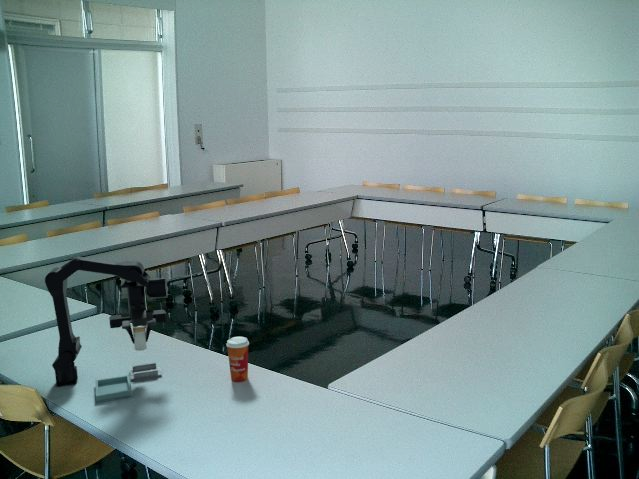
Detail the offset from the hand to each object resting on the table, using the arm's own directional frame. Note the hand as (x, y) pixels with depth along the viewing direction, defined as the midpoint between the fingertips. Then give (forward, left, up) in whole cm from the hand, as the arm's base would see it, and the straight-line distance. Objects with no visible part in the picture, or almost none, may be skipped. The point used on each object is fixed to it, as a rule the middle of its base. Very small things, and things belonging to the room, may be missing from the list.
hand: (140, 342), depth 223 cm
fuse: (0, 0, -2) cm, 2 cm away
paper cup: (+31, -15, -13) cm, 37 cm away
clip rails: (+1, +1, -12) cm, 12 cm away
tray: (-10, -9, -12) cm, 18 cm away
